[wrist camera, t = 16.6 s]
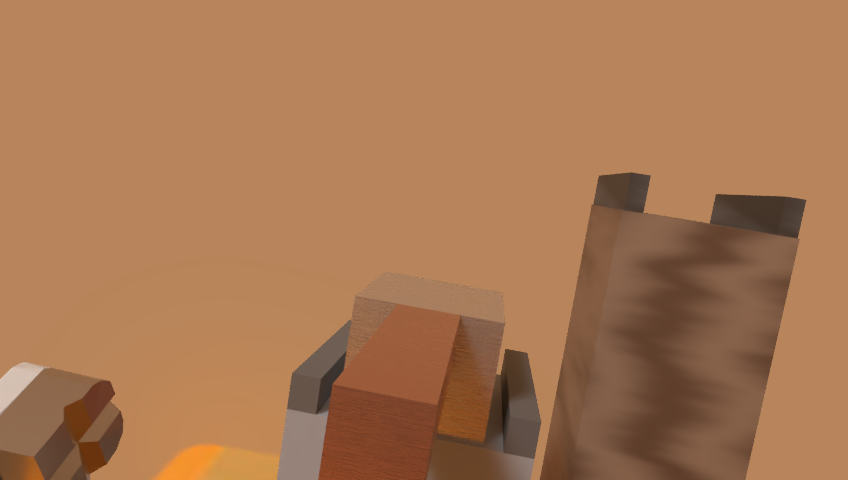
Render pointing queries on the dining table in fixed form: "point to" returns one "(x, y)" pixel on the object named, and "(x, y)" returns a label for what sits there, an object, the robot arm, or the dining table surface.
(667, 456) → the tall post
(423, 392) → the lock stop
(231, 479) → the dining table surface
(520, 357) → the grey post
